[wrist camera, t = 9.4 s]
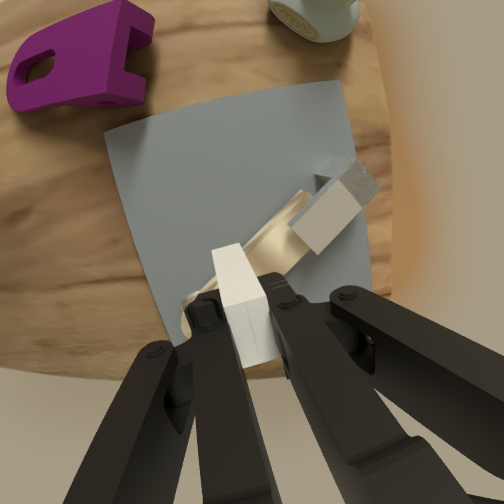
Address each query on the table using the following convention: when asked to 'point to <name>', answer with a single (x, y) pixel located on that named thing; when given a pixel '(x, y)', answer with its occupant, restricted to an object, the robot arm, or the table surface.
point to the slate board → (233, 187)
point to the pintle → (186, 300)
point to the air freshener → (318, 17)
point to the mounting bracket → (83, 60)
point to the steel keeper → (334, 201)
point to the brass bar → (268, 248)
